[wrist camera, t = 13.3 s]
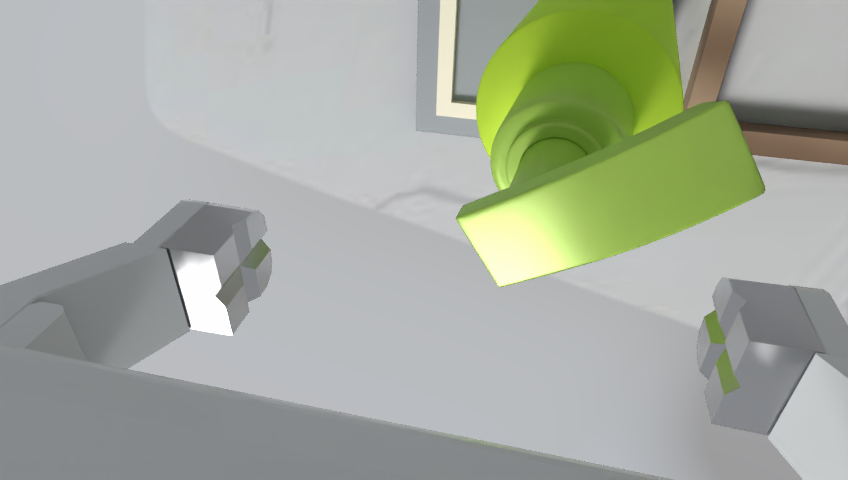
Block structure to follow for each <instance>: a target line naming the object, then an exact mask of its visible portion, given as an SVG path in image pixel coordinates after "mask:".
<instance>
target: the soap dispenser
mask: <svg viewBox="0 0 848 480" xmlns="http://www.w3.org/2000/svg"><path fill="white" fill-rule="evenodd" d="M683 107H684V102H683V90H682V81H681V72H680V63H679V54H678V45H677V36H676V27H675V18H674V9H673V0H539V1H538V2H537V4H536V5H535V6H534V7H533V8H532V9H531V11H530V12H529V13H528V14H527V15H526V16H525V17H524V19H523V20H522V21H521V22H520V23H519V24H518V26H517V27H516V28H515V29H514V30H513V31H512V33H511V34H510V35H509V36H508V37H507V38H506V40H505V41H504V42H503V43H502V44H501V45H500V47H499V48H498V49H497V50H496V52H495V53H494V54H493V56H492V57H491V59H490V61H489V62H488V64H487V66H486V68H485V70H484V73H483V75H482V78H481V81H480V84H479V88H478V93H477V100H476V118H477V125H478V130H479V134H480V137H481V140H482V143H483V145H484V147H485V150H486V152H487V153H488V155H489V157H490V158H491V171H492V175H493V178H494V181H495V183H496V186H497V188H498V189H499V191H498V192H496V193H493V194H491V195H488V196H486V197H483V198H481V199H478V200H476V201H473V202H471V203H468V204H466V205H463V206H462V208H461V210H460V211H459V213H458V215H457V217H456V220H457V222H458V223H459V225H460V226H461V228H462V230H463V231H464V233H465V234H466V236H467V238H468V239H469V241H470V242H471V244H472V246H473V247H474V249H475V250H476V252H477V253H478V255H479V257H480V258H481V260H482V261H483V263H484V264H485V266H486V268H487V269H488V271H489V273H490V274H491V275H492V277H493V279H494V280H495V282H496V284H497V285H498V287H504V286H508V285H511V284H515V283H519V282H523V281H527V280H530V279H534V278H538V277H542V276H545V275H549V274H553V273H556V272H560V271H564V270H567V269H571V268H574V267H578V266H581V265H585V264H588V263H592V262H595V261H598V260H601V259H605V258H608V257H611V256H614V255H617V254H620V253H623V252H626V251H629V250H632V249H635V248H638V247H641V246H643V245H646V244H649V243H652V242H654V241H657V240H660V239H662V238H665V237H667V236H670V235H672V234H675V233H677V232H680V231H682V230H685V229H687V228H689V227H692V226H694V225H696V224H699V223H701V222H703V221H706V220H708V219H710V218H712V217H715V216H717V215H719V214H721V213H724V212H726V211H728V210H730V209H732V208H735V207H737V206H739V205H741V204H743V203H745V202H747V201H749V200H752V199H754V198H755V197H757V196H759V195H761V194H763V193H764V191H765V185H764V183H763V181H762V178H761V176H760V173H759V171H758V168H757V166H756V164H755V161H754V159H753V156H752V154H751V151H750V149H749V147H748V144H747V142H746V140H745V137H744V135H743V132H742V130H741V128H740V125H739V123H738V121H737V118H736V116H735V114H734V111H733V109H732V107H731V105H730V103H729V102H728V101H724V100H723V101H714V102H704V103H700V104H698V105H695V106H693V107H691V108H689V109H687V110H685V111H683Z"/></svg>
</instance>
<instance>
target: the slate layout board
mask: <svg viewBox="0 0 848 480" xmlns="http://www.w3.org/2000/svg"><path fill="white" fill-rule="evenodd" d="M538 1H539V0H418V37H417V95H416V131H421V132H430V133H439V134H448V135H457V136H467V137H476V138H481V137H480V134H479V130H478V125H477V118H476V100H477V93H478V88H479V84H480V81H481V78H482V75H483V73H484V70H485V68H486V66H487V64H488V62H489V61H490V59H491V57H492V56H493V54H494V53H495V52H496V50H497V49H498V48H499V47H500V45H501V44H502V43H503V42H504V41H505V40H506V38H507V37H508V36H509V35H510V34H511V33H512V31H513V30H514V29H515V28H516V27H517V26H518V24H519V23H520V22H521V21H522V20H523V19H524V17H525V16H526V15H527V14H528V13H529V12H530V11H531V9H532V8H533V7H534V6H535V5H536V4H537V2H538ZM673 4H674V0H673Z"/></svg>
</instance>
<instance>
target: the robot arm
mask: <svg viewBox="0 0 848 480" xmlns="http://www.w3.org/2000/svg"><path fill="white" fill-rule="evenodd" d="M266 231H267V227H266V222H265V217H264V215H263V214H262V213H261V212H260V211H258V210H252V209H246V208H240V207H234V206H228V205H222V204H215V203H209V202H203V201H196V200H182V201H180V202H179V203H178V204H177V205H176V206H175V207H174V208H172V209H171V210H170V211H169V212H168V213H167V214H166V215H164V216H163V217H162V218H161V219H160V220H159V221H158V222H156V223H155V224H154V225H153V226H152V227H151V228H150V229H149V230H147V231H146V232H145V233H144V234H143V235H142V236H141V237H139V238H138V239H137V240H136V241H135V242H134V243H126V242H125V243H122V244H119V245H116V246H113V247H110V248H108V249H104V250H102V251H99V252H96V253H93V254H90V255H87V256H84V257H81V258H79V259H76V260H73V261H70V262H67V263H64V264H61V265H58V266H55V267H52V268H49V269H47V270H43V271H41V272H38V273H35V274H32V275H29V276H26V277H23V278H20V279H18V280H15V281H12V282H9V283H6V284H3V285H0V480H673V479H668V478H663V477H658V476H654V475H649V474H644V473H639V472H634V471H629V470H624V469H619V468H614V467H609V466H604V465H599V464H594V463H589V462H585V461H580V460H575V459H570V458H565V457H560V456H555V455H551V454H545V453H541V452H536V451H531V450H526V449H521V448H516V447H511V446H506V445H501V444H496V443H492V442H487V441H481V440H477V439H472V438H466V437H462V436H456V435H452V434H446V433H442V432H436V431H432V430H427V429H422V428H417V427H412V426H407V425H402V424H397V423H392V422H387V421H382V420H377V419H372V418H366V417H362V416H357V415H352V414H347V413H342V412H337V411H332V410H327V409H322V408H317V407H312V406H307V405H302V404H297V403H292V402H287V401H282V400H277V399H272V398H267V397H263V396H257V395H253V394H248V393H242V392H238V391H233V390H228V389H223V388H218V387H213V386H208V385H203V384H198V383H193V382H188V381H183V380H178V379H173V378H168V377H163V376H158V375H154V374H149V373H144V372H138V371H134V370H129V369H128V368H130V367H131V366H133V365H135V364H136V363H138V362H140V361H141V360H143V359H145V358H146V357H148V356H149V355H151V354H153V353H154V352H156V351H158V350H159V349H161V348H163V347H164V346H166V345H167V344H169V343H171V342H172V341H174V340H176V339H177V338H179V337H181V336H182V335H184V334H185V333H187V332H189V331H190V330H189V329H195V330H201V331H208V332H214V333H221V334H227V335H233V334H234V332H235V331H236V329H237V328H238V327H239V325H240V324H241V322H242V321H243V320H244V318H245V317H246V315H247V314H248V313H249V308H248V302H249V301H251V300H253V299H256V298H258V297H260V296H261V294H262V293H263V291H264V290H265V288H266V287H267V284H268V281H269V278H270V275H271V269H272V257H271V250H270V249H269V247H268V246H267V245H266V244H265V243H264V242H263V240H262V237H263V236H264V234H265V233H266ZM712 297H713V301H714V305H715V309H716V310H714V311H713V312H711V313H710V314H708V315H707V316H705V317H704V319H703V322H702V325H701V328H700V331H699V336H698V343H697V361H698V366H699V371H700V372H701V373H702V374H703V375H704V376H705V377H706V378H707V379H708V383H707V385H706V388H705V390H704V394H705V399H706V403H707V407H708V412H709V416H710V421H711V424H715V425H720V426H725V427H730V428H734V429H739V430H744V431H749V432H754V433H758V434H763V435H768V436H769V437H768V439H769V440H770V441H771V442H772V443H773V445H774V446H775V447H776V448H777V449H778V450H779V452H780V453H781V454H782V455H783V456H784V458H785V459H786V460H787V461H788V462H789V463H790V465H791V466H792V467H793V468H794V469H795V470H796V472H797V473H798V474H799V475H800V476H801V478H802V479H803V480H848V326H847V324H846V322H845V320H844V318H843V317H842V315H841V313H840V311H839V309H838V308H837V306H836V304H835V302H834V300H833V299H832V297H831V295H830V294H829V293H828V292H827V291H825V290H824V289H816V288H807V287H798V286H784V285H776V284H769V283H761V282H753V281H746V280H738V279H730V278H722V279H721V280H720V281H719V283H718V284H717V286H716V289H715V291H714V294H713V296H712Z"/></svg>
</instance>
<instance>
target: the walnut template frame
mask: <svg viewBox="0 0 848 480" xmlns="http://www.w3.org/2000/svg"><path fill="white" fill-rule="evenodd" d="M746 3H747V0H712V1H711V4H710V8H709V12H708V15H707V19H706V22H705V26H704V29H703V33H702V37H701V40H700V44H699V47H698V51H697V55H696V58H695V62H694V65H693V69H692V72H691V76H690V80H689V83H688V87H687V90H686V94H685V98H684V101H683V102H684V107H683V111H685V110H687V109H689V108H691V107H693V106H695V105H698V104H700V103H704V102H714V101H716V100H717V96H718V93H719V90H720V87H721V84H722V80H723V77H724V74H725V71H726V67H727V64H728V61H729V58H730V55H731V51H732V48H733V45H734V42H735V39H736V35H737V32H738V29H739V26H740V22H741V19H742V16H743V13H744V10H745V6H746ZM738 123H739V125H740V128H741V130H742V132H743V135H744V137H745V140H746V142H747V144H748V147H749V149H750V151H751V154H752V155H758V156H768V157H777V158H786V159H796V160H805V161H814V162H824V163H833V164H842V165H848V133H845V132H835V131H825V130H815V129H805V128H794V127H784V126H774V125H764V124H754V123H744V122H738Z"/></svg>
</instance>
